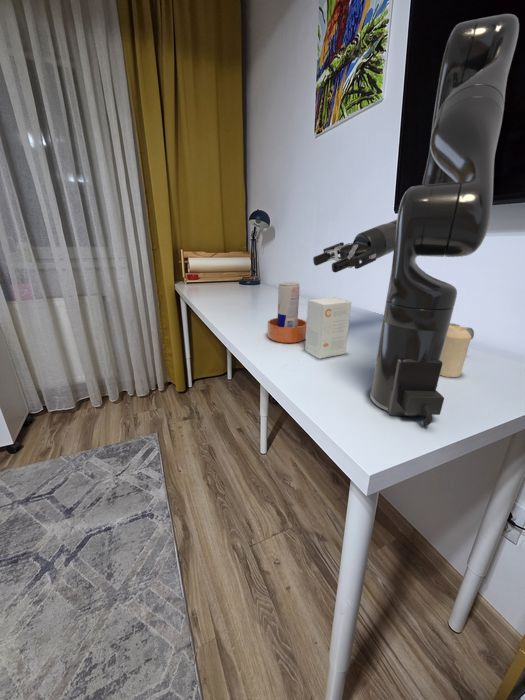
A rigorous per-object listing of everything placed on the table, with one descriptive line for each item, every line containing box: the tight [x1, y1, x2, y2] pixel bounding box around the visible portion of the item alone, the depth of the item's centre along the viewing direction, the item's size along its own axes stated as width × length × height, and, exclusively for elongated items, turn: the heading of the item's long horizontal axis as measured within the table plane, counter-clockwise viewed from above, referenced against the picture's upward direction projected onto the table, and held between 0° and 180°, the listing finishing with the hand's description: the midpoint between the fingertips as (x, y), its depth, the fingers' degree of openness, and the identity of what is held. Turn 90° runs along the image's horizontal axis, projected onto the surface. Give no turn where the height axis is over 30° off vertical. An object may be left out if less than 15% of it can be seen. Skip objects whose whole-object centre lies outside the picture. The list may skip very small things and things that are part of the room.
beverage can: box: [277, 281, 300, 328], centre depth 80 cm, size 6×6×15 cm
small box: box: [304, 296, 352, 360], centre depth 70 cm, size 8×6×13 cm
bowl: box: [267, 317, 307, 344], centre depth 82 cm, size 11×11×4 cm
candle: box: [440, 325, 472, 378], centre depth 60 cm, size 6×6×10 cm
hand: (323, 265), depth 71 cm, fingers open, 8 cm apart
